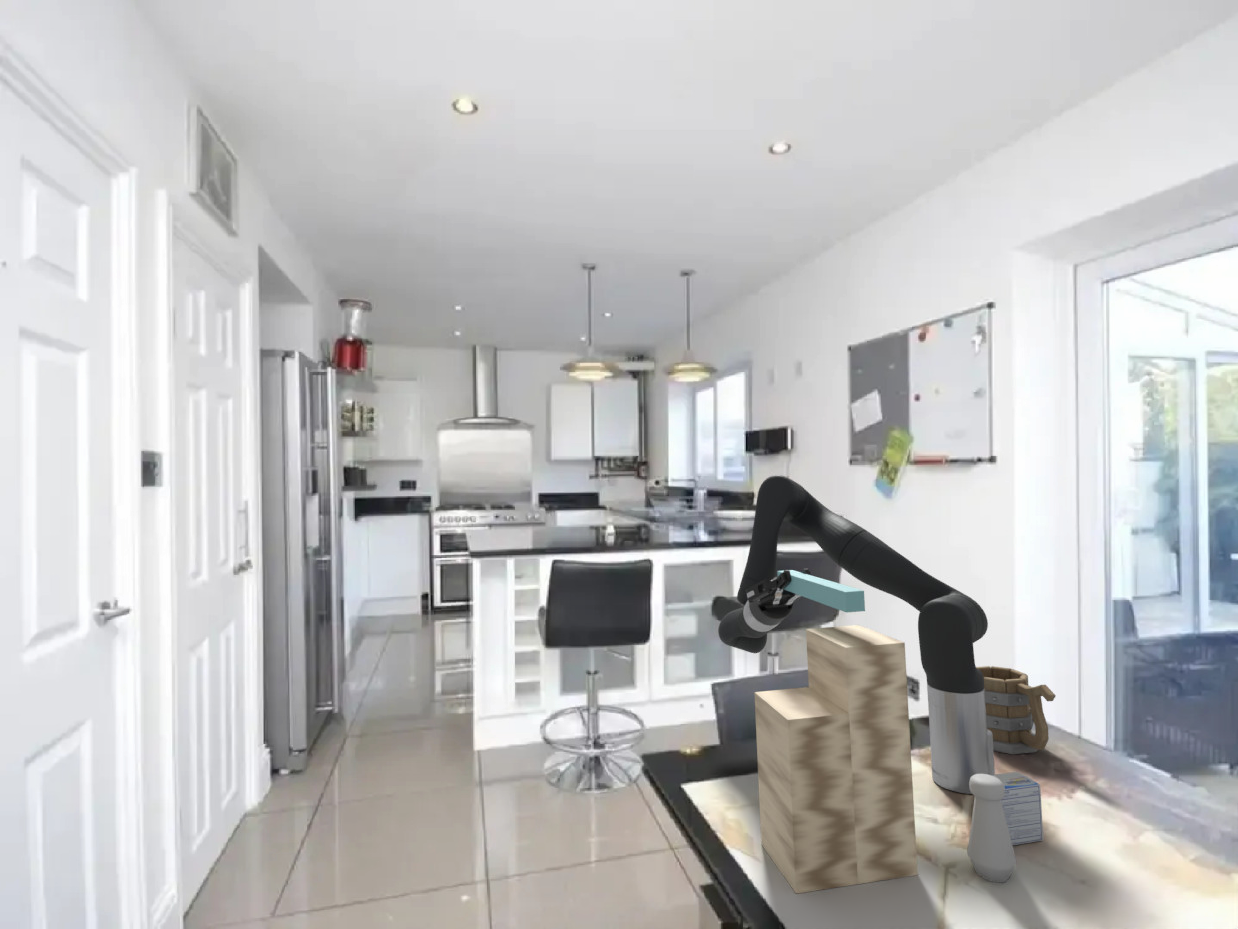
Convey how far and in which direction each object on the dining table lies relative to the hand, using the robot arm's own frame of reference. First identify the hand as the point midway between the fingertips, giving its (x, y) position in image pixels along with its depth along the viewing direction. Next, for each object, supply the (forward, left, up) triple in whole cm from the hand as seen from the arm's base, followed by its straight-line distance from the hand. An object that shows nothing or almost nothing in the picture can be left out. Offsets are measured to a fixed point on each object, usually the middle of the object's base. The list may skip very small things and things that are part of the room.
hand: (798, 574), depth 111 cm
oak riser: (+5, +17, -39) cm, 43 cm away
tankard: (-48, -9, -39) cm, 63 cm away
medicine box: (-23, +18, -39) cm, 49 cm away
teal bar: (0, +7, -3) cm, 7 cm away
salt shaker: (-15, +25, -39) cm, 49 cm away
